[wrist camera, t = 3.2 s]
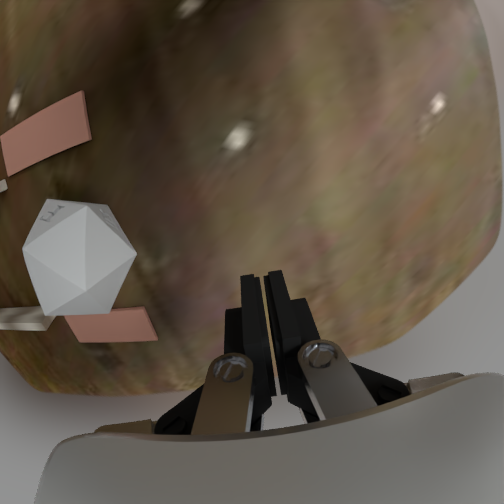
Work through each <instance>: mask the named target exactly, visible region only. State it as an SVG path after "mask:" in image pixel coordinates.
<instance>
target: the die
mask: <svg viewBox="0 0 504 504" xmlns="http://www.w3.org/2000/svg"><path fill="white" fill-rule="evenodd" d="M22 250H23V255H24V259H25V263H26V266H27V269H28V272H29V275H30V278H31V281H32V284H33V287H34V289H35V292H36V295H37V297H38V300H39V302H40V305H41V307H42V310H43V312H44V315H45V316H57V315H89V314H109V313H110V310H111V308H112V306H113V304H114V301H115V299H116V297H117V295H118V292H119V290H120V288H121V286H122V284H123V281H124V279H125V277H126V275H127V273H128V271H129V269H130V267H131V265H132V263H133V261H134V259H135V257H136V255H137V253H136V251H135V250H134V248H133V247H132V245H131V243H130V242H129V240H128V239H127V237H126V235H125V234H124V232H123V230H122V229H121V227H120V225H119V224H118V222H117V220H116V219H115V217H114V215H113V213H112V212H111V210H110V208H109V206H108V205H103V204H94V203H84V202H75V201H65V200H54V199H47V200H46V202H45V204H44V205H43V207H42V209H41V211H40V213H39V215H38V217H37V219H36V221H35V223H34V225H33V227H32V229H31V231H30V233H29V235H28V237H27V239H26V241H25V244H24V246H23V248H22Z"/></svg>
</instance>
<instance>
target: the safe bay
mask: <svg viewBox="0 0 504 504" xmlns="http://www.w3.org/2000/svg"><path fill="white" fill-rule="evenodd" d="M6 189H8V188H7V184H6V181H5V179H4V180H1V181H0V192H2V191H4V190H6ZM55 317H56V316H45V315H44V312H43V310H42V307H41V306H34V307H17V308H0V329H4V330H34V331H46V330H47V329H48V327H49V326H50V324H51V323H52V321H53V320H54V318H55Z"/></svg>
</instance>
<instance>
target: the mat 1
mask: <svg viewBox="0 0 504 504" xmlns="http://www.w3.org/2000/svg"><path fill="white" fill-rule="evenodd" d="M0 139H1V145H2V150H3V156H4V161H5V165H6V170H7V174H8V177H9V176H11V175H13V174H15V173H17V172H19V171H21V170H23V169H25V168H27V167H29V166H31V165H33V164H35V163H37V162H39V161H41V160H43V159H45V158H48V157H50V156H52V155H54V154H57V153H59V152H61V151H64V150H66V149H68V148H71V147H73V146H76V145H78V144H81V143H84V142H86V141H89V140H92V137H91V132H90V126H89V121H88V115H87V109H86V102H85V95H84V91H79V92H77V93H75V94H73V95H71V96H69V97H67V98H64V99H62V100H60V101H58V102H56V103H55V104H53V105H51V106H49V107H47V108H45V109H43V110H41V111H40V112H38V113H36V114H34V115H33V116H31V117H29V118H28V119H26V120H24V121H23V122H21V123H19V124H18V125H16V126H15V127H13V128H12V129H10V130H9V131H7V132H6V133H4V134H3V135H1V136H0Z"/></svg>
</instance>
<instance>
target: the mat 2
mask: <svg viewBox="0 0 504 504" xmlns="http://www.w3.org/2000/svg"><path fill="white" fill-rule="evenodd" d="M63 316H64V317H65V319H66V321H67V323H68V324H69V326H70V328H71V329H72V331H73V333H74V334H75V336H76V337H77V339H78V341H79V342H137V341H157V340H158V336H157V334H156V332H155V330H154V328H153V325H152V323H151V321H150V319H149V316H148V314H147V312H146V310H145V307H144V306H142V307H130V308H119V309H111V310H110V313H109V314H89V315H63Z"/></svg>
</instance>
